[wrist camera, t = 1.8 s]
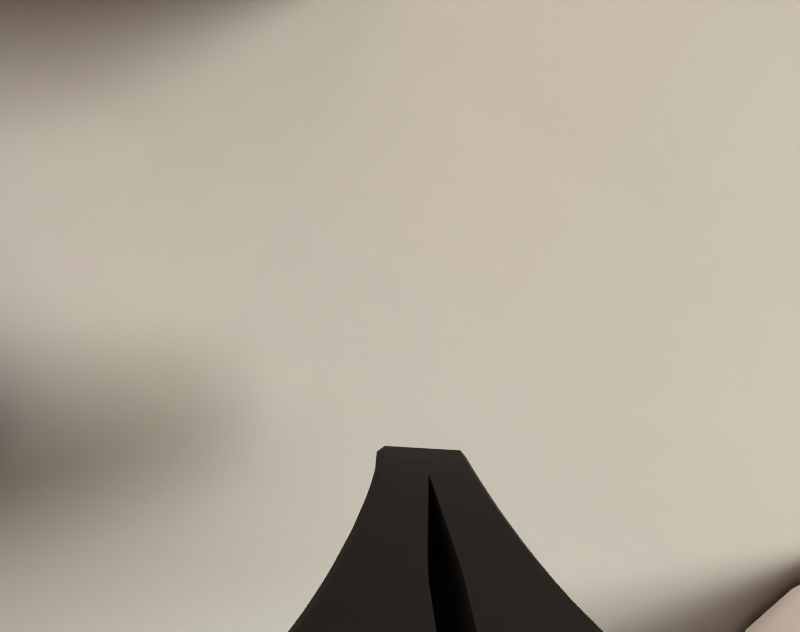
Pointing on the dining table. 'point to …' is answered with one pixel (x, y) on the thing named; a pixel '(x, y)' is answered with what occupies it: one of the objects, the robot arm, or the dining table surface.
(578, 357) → the dining table surface
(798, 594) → the can
